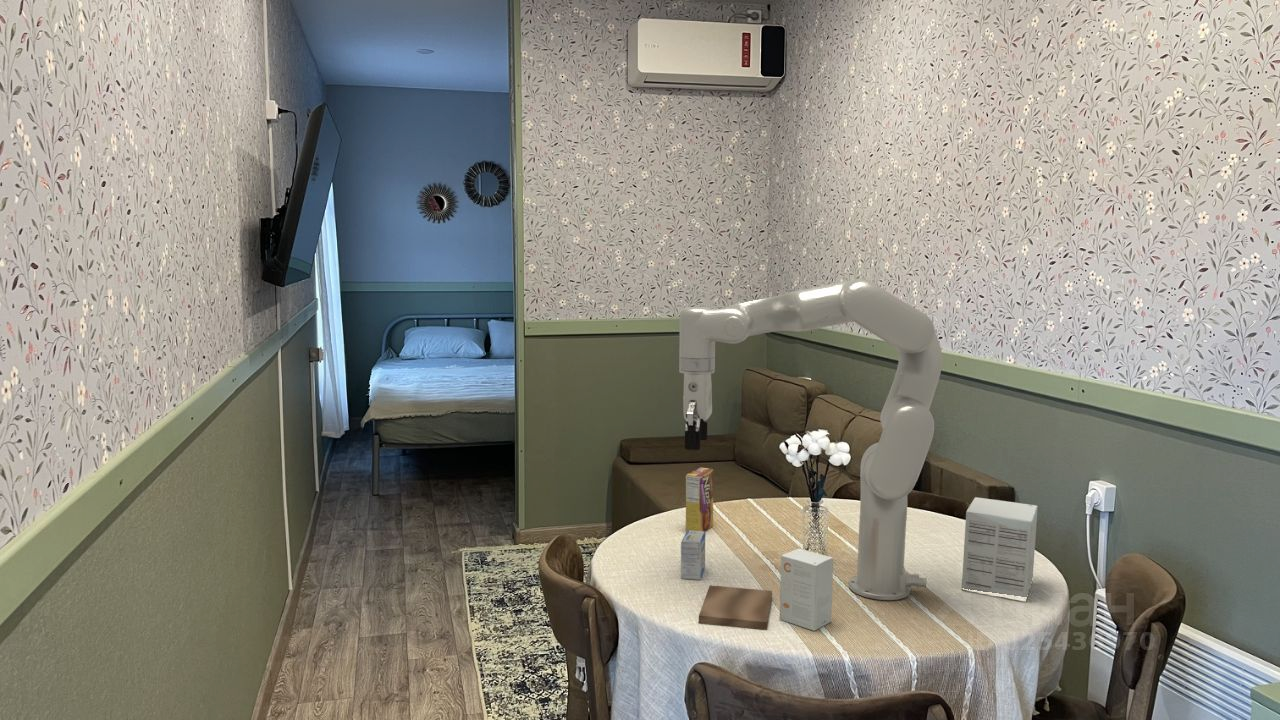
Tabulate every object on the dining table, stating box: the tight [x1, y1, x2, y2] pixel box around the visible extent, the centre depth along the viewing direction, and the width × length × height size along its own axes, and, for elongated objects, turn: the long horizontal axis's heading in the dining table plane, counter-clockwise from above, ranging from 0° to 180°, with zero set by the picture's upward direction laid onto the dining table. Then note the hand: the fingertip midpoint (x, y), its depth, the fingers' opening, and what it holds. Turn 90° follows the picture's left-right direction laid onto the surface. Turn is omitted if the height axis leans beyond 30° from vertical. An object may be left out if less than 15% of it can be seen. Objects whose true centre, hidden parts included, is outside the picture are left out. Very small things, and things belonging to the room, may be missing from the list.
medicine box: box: [680, 530, 706, 581], centre depth 198 cm, size 8×4×9 cm, turn 168°
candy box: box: [685, 467, 714, 533], centre depth 229 cm, size 9×4×15 cm, turn 152°
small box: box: [779, 548, 834, 632], centre depth 174 cm, size 8×6×13 cm
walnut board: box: [698, 584, 773, 630], centre depth 179 cm, size 13×16×2 cm
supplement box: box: [961, 496, 1038, 597], centre depth 193 cm, size 13×13×18 cm
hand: (696, 444), depth 192 cm, fingers open, 9 cm apart
